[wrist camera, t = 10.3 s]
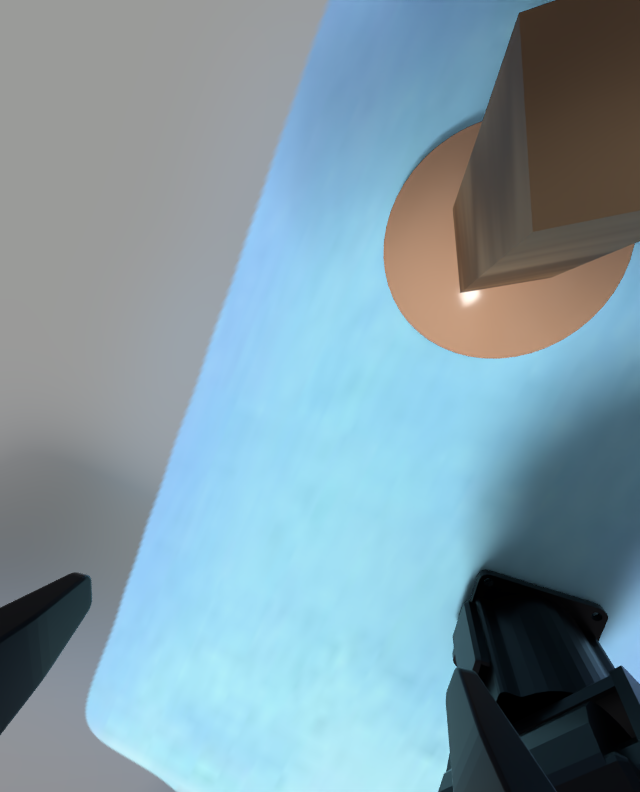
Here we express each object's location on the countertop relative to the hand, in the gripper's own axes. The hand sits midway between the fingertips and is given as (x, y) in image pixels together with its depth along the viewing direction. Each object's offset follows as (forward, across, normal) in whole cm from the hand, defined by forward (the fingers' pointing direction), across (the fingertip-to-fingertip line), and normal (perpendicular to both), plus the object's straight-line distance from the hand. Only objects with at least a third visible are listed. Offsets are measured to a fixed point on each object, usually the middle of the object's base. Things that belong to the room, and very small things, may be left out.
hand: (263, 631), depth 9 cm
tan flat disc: (+14, -7, -11) cm, 19 cm away
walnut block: (+13, -7, -11) cm, 18 cm away
